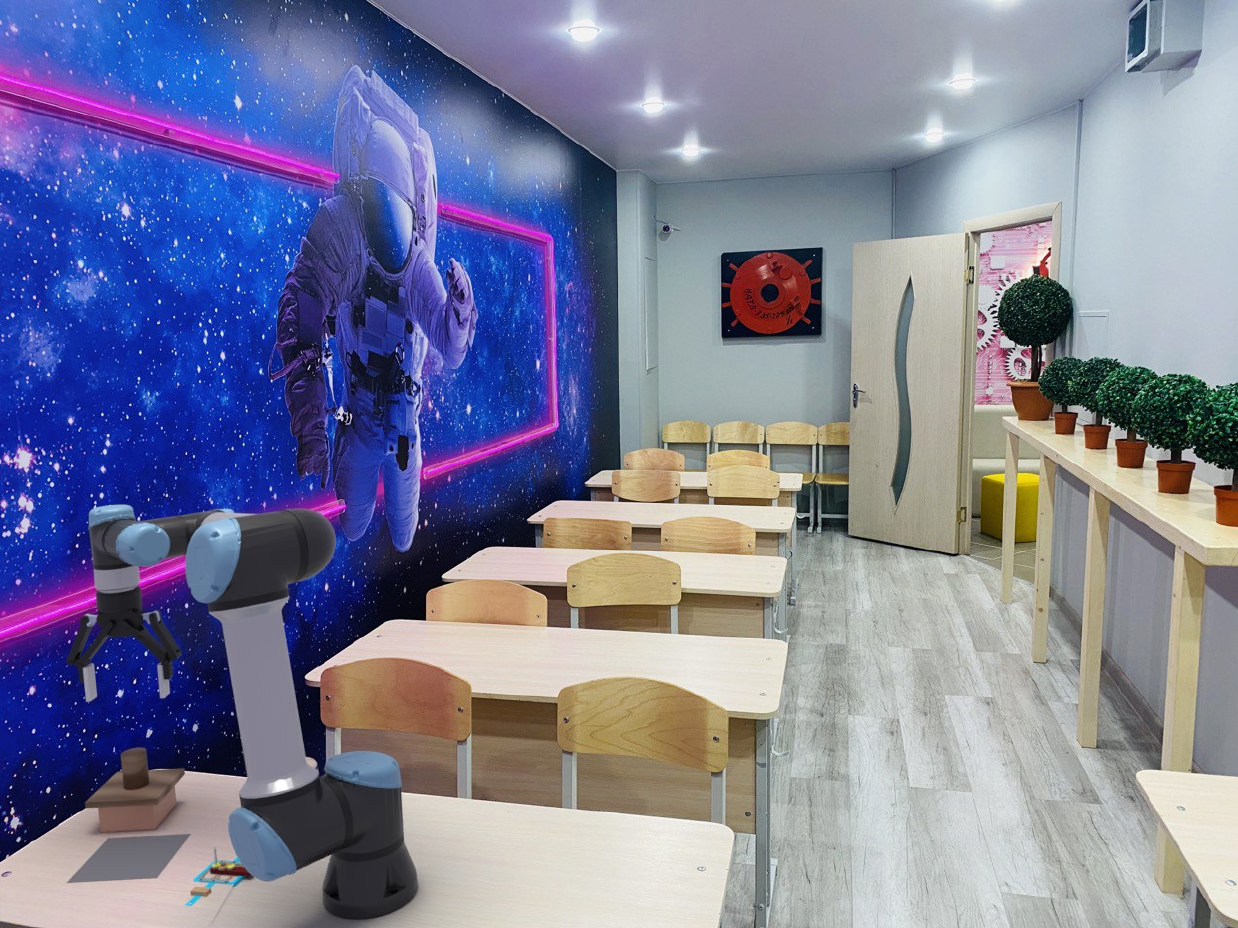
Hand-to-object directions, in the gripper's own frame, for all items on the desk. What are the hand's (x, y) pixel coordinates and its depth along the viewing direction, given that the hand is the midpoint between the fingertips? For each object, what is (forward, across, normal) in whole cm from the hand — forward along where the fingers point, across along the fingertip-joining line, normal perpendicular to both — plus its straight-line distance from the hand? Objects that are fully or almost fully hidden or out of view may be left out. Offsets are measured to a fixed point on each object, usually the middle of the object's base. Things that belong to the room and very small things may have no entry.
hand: (128, 697), depth 184 cm
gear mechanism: (+25, -24, +22) cm, 41 cm away
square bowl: (+25, 0, 0) cm, 25 cm away
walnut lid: (+19, 0, 0) cm, 19 cm away
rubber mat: (+25, -5, +15) cm, 29 cm away
